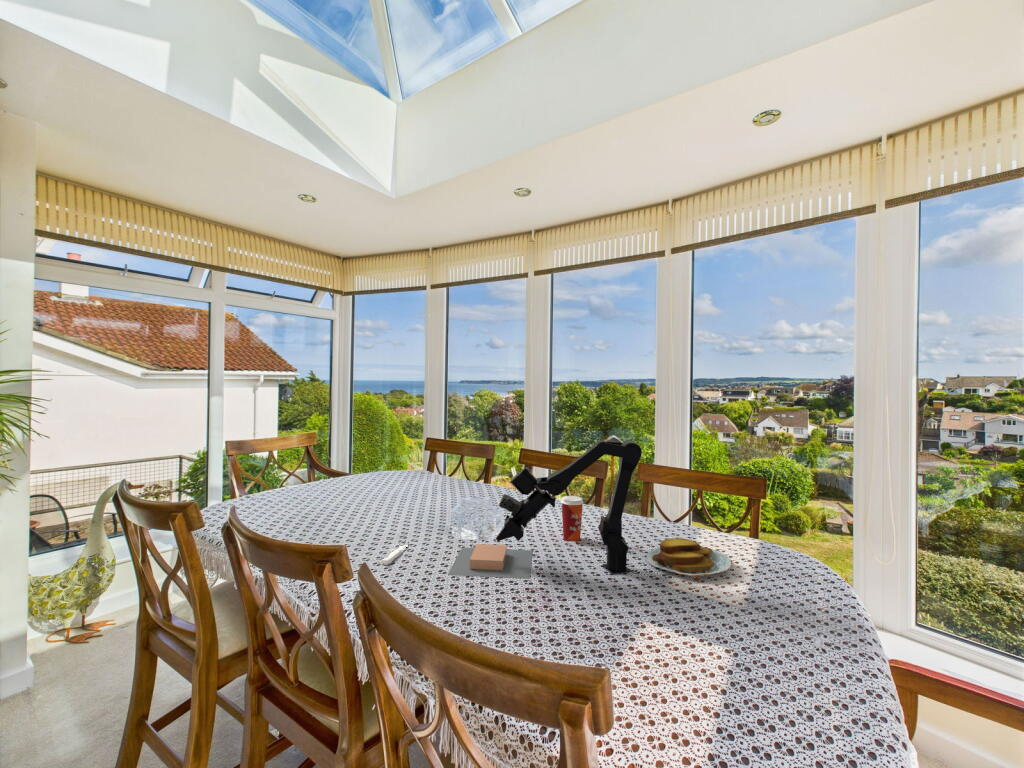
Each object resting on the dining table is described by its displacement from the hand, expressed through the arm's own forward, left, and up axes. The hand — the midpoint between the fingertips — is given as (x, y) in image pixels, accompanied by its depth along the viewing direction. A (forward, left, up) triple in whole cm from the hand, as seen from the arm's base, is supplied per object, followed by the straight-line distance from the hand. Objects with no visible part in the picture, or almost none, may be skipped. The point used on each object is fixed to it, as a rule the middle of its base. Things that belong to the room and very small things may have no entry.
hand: (496, 539), depth 141 cm
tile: (-1, -2, -5) cm, 6 cm away
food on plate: (-17, -58, -8) cm, 61 cm away
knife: (+23, +29, -8) cm, 38 cm away
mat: (0, +1, -8) cm, 8 cm away
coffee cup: (+14, -32, -8) cm, 36 cm away
